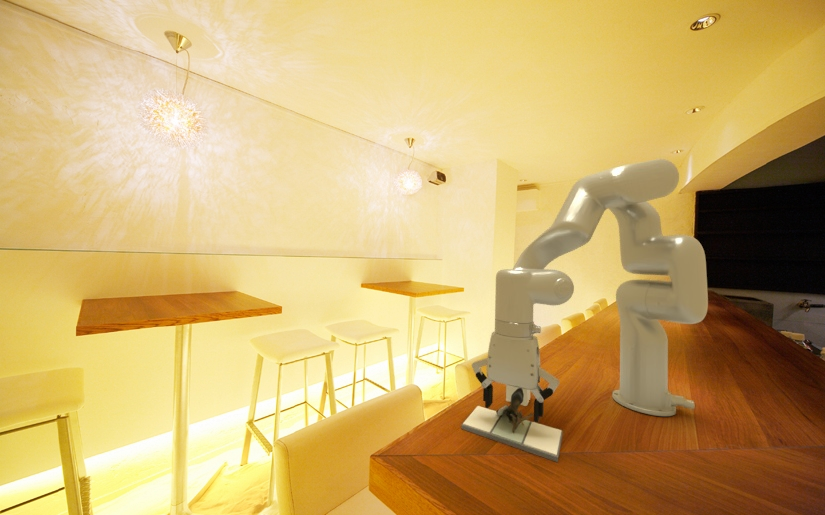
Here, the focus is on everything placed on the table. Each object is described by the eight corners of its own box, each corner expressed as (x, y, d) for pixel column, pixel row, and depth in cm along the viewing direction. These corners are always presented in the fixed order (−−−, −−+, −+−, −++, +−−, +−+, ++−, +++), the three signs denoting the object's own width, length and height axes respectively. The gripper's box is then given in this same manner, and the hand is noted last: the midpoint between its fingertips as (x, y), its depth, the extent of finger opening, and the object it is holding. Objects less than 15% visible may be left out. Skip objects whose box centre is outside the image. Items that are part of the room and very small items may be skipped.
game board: (562, 434, 59) (562, 429, 59) (557, 462, 51) (557, 456, 51) (477, 409, 69) (477, 404, 69) (461, 428, 60) (461, 423, 60)
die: (530, 398, 75) (530, 379, 75) (526, 406, 71) (527, 385, 71) (510, 393, 78) (510, 374, 78) (505, 401, 73) (506, 380, 74)
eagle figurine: (543, 430, 56) (531, 401, 65) (525, 401, 56) (514, 375, 65) (508, 446, 58) (500, 415, 67) (490, 417, 57) (484, 390, 66)
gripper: (561, 331, 59) (560, 416, 58) (479, 320, 68) (477, 394, 67) (558, 339, 52) (556, 434, 52) (467, 326, 62) (465, 407, 61)
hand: (511, 412), depth 60 cm, fingers open, 9 cm apart
